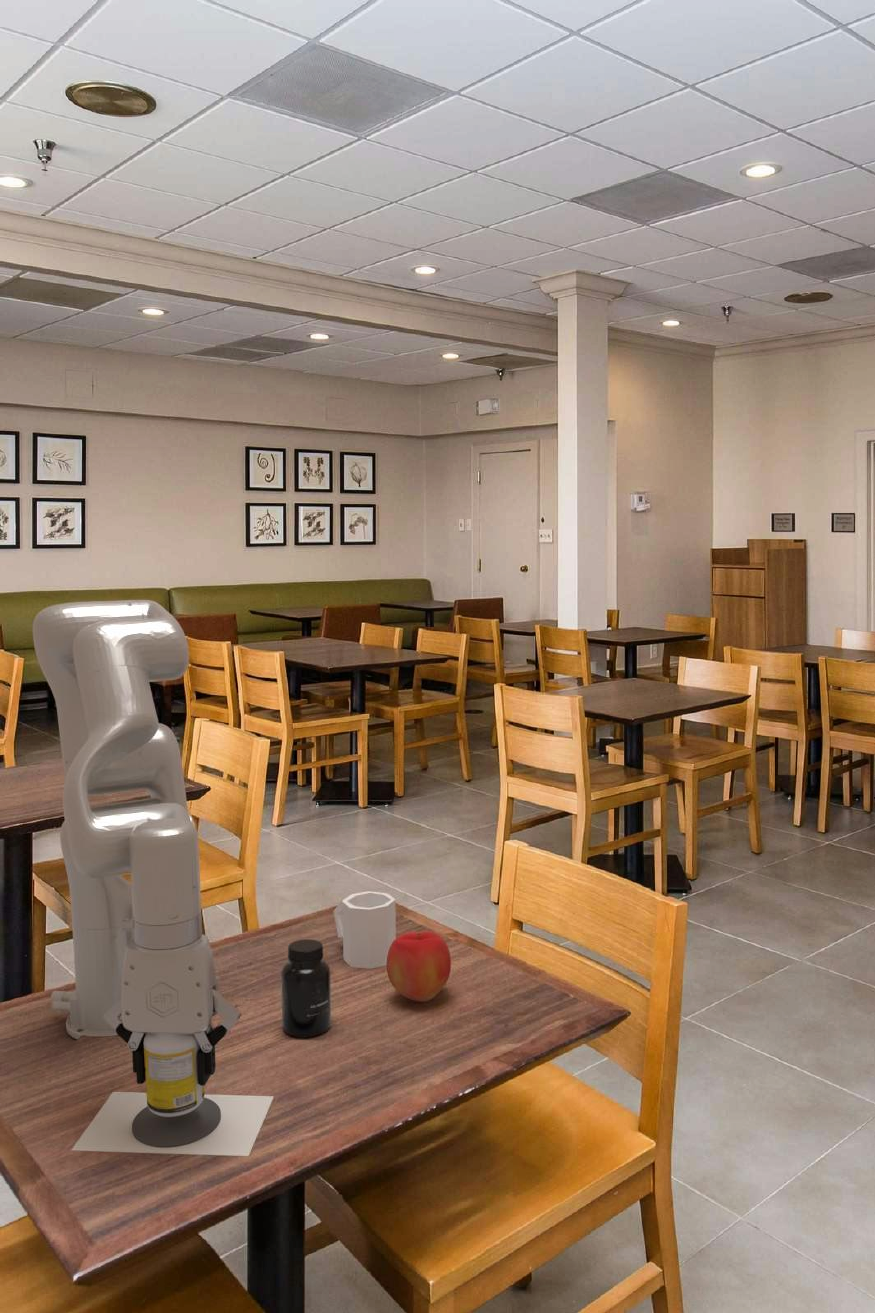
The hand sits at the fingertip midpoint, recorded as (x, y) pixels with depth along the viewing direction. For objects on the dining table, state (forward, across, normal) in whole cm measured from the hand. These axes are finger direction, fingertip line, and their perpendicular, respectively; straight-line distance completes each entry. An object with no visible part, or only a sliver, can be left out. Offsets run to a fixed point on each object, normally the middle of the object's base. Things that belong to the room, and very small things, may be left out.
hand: (175, 1077), depth 118 cm
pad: (+5, 0, 0) cm, 5 cm away
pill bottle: (+3, 0, 0) cm, 3 cm away
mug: (+7, +14, +51) cm, 53 cm away
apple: (+7, +25, +36) cm, 44 cm away
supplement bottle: (+7, +10, +26) cm, 29 cm away
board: (+7, 0, 0) cm, 7 cm away
